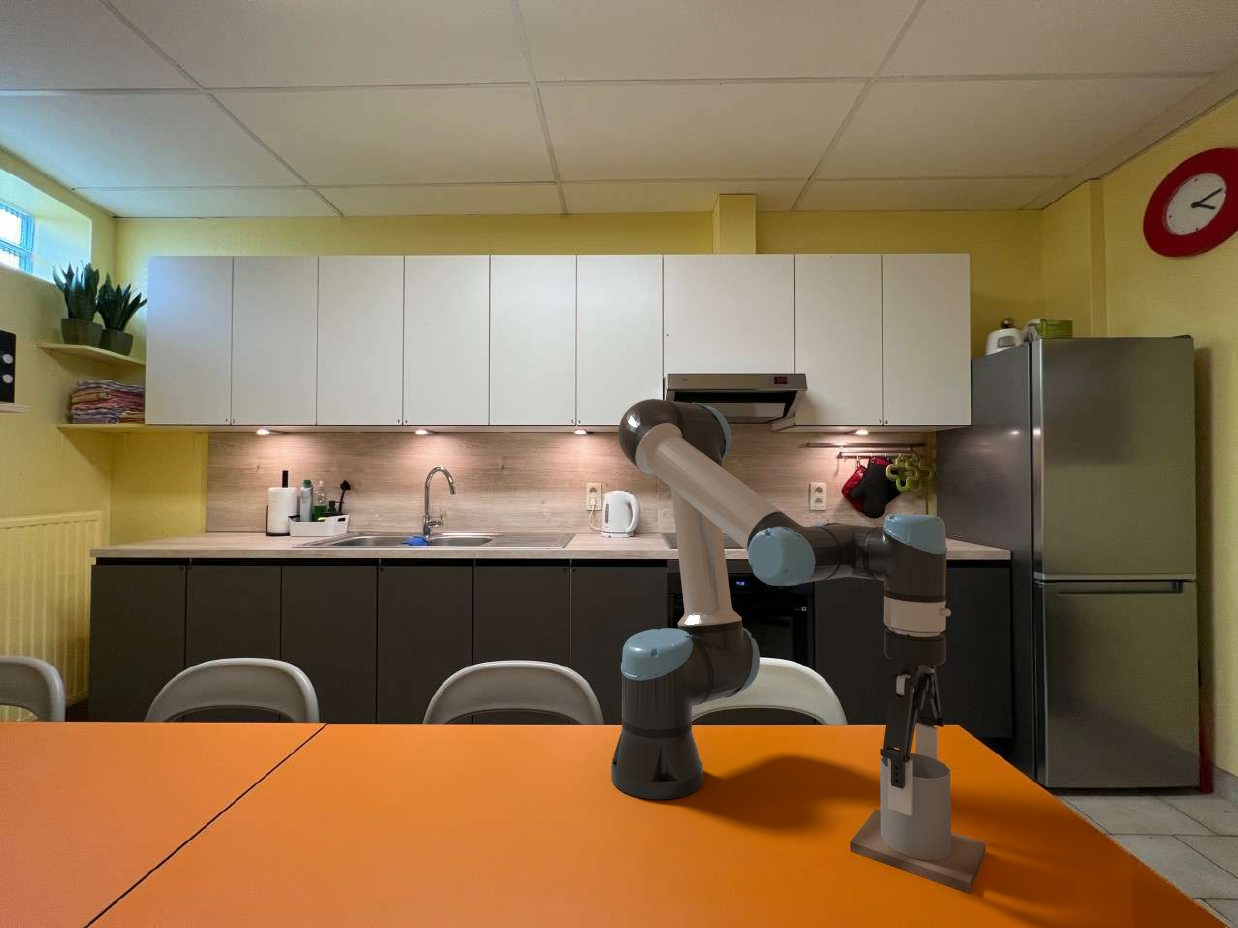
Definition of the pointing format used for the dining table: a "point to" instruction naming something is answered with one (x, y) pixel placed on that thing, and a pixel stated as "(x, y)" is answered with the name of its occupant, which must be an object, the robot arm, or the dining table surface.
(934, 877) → the walnut board
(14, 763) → the dining table surface
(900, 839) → the cup
